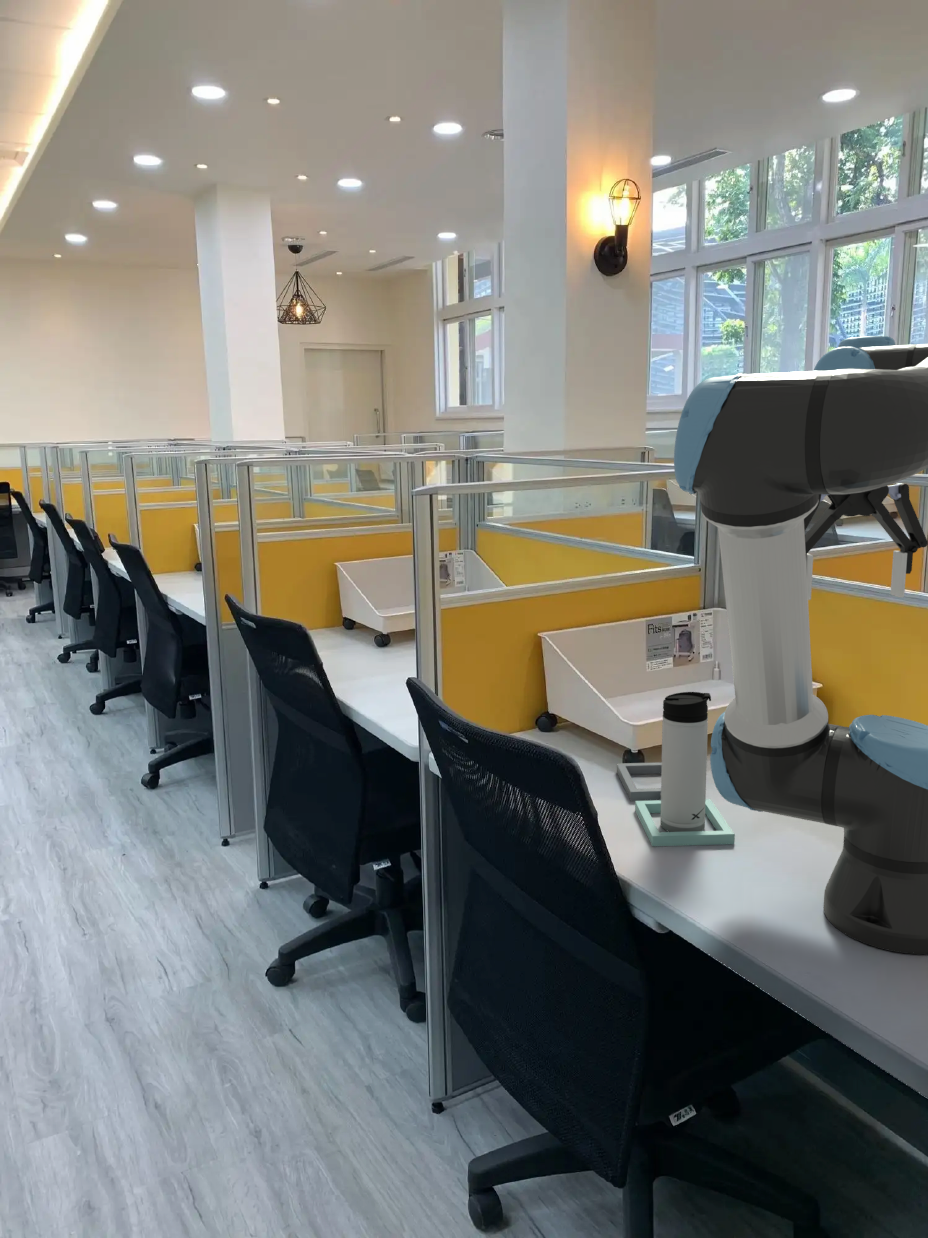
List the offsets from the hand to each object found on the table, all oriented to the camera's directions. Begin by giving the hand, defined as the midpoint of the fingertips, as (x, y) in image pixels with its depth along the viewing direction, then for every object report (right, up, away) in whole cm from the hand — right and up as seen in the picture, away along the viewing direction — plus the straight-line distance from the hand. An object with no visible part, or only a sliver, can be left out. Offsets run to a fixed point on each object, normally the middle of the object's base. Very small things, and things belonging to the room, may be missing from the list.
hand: (851, 597), depth 136 cm
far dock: (-25, -30, +12) cm, 41 cm away
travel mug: (-25, -33, -2) cm, 42 cm away
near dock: (-25, -33, -2) cm, 42 cm away
